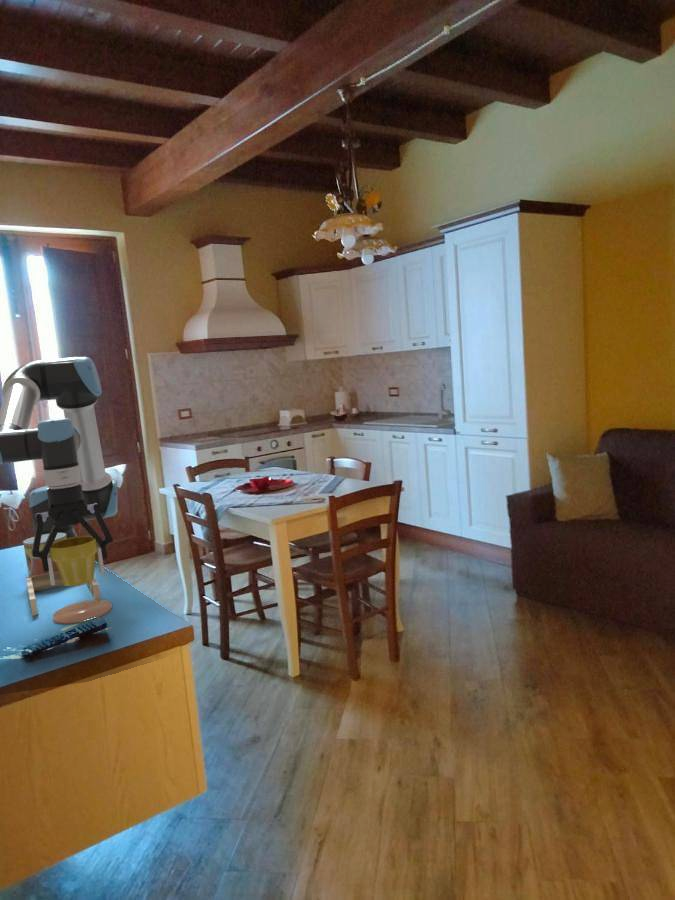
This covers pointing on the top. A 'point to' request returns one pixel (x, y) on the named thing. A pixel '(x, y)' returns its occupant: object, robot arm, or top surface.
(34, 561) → the canned food
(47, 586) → the slot cradle
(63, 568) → the plant pot
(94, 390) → the robot arm
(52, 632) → the top surface
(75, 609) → the disc
